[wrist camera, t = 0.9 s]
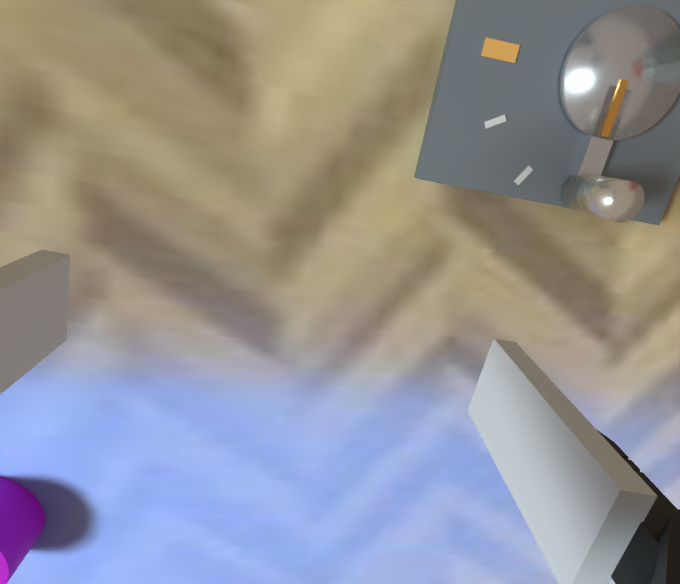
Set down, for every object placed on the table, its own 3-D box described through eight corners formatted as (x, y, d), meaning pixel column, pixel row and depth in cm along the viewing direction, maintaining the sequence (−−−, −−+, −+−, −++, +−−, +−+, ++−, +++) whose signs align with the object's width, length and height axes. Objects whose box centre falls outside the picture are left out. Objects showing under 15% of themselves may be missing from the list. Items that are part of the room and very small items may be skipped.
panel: (484, -118, 32) (493, -131, 30) (756, -46, 34) (779, -55, 32) (414, 176, 38) (418, 178, 36) (646, 221, 40) (660, 225, 39)
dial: (582, -5, 33) (639, -33, 27) (697, 23, 34) (776, 2, 28) (519, 196, 37) (556, 210, 32) (621, 216, 38) (675, 233, 33)
